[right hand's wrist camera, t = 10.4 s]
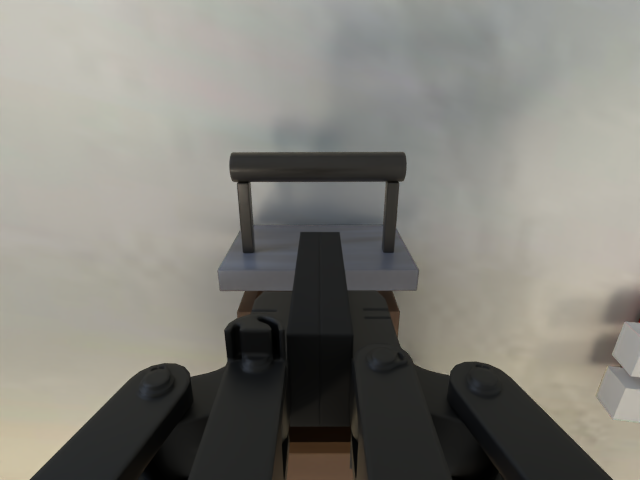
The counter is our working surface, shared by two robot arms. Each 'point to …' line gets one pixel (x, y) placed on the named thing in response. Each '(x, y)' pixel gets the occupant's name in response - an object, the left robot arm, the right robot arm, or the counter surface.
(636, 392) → the toy
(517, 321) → the counter surface
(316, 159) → the drawer
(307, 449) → the cabinet
